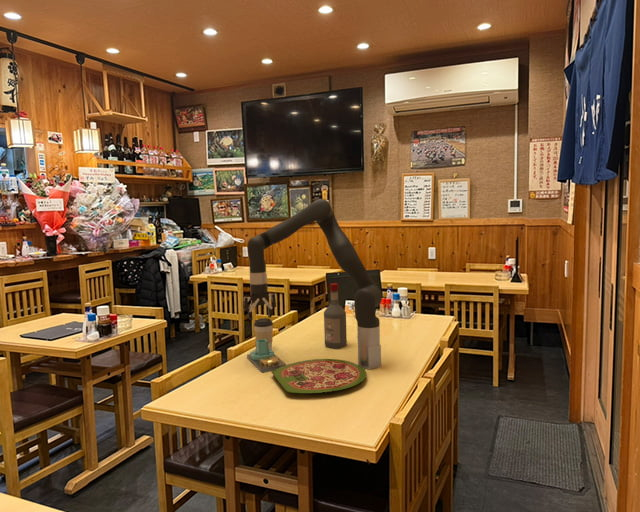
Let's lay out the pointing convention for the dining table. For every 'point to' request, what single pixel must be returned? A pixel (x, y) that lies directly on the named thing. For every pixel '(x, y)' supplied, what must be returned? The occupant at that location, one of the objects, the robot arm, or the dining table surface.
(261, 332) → the coffee cup
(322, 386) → the pizza
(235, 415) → the dining table surface
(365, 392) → the dining table surface
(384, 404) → the dining table surface
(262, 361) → the sun gear
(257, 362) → the plate
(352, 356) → the dining table surface
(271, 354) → the teal flanged hub
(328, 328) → the liquor
